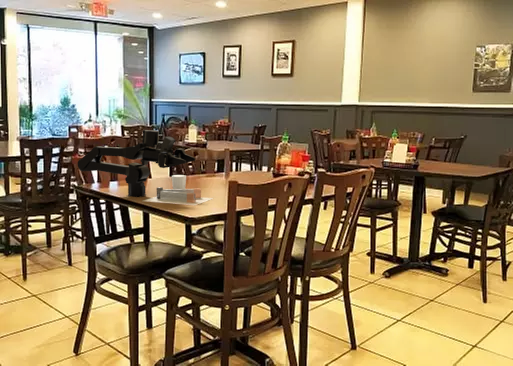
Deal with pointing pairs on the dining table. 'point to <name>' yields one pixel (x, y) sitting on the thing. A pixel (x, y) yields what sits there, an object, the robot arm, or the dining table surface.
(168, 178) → the dining table surface
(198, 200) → the cutting board
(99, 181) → the dining table surface
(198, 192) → the tong leg
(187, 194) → the tong fixed leg
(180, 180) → the white cup
